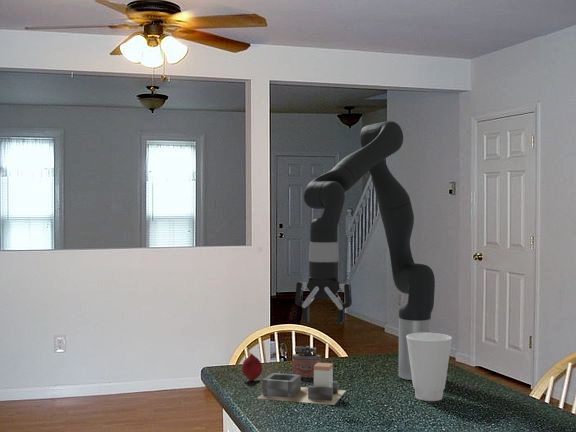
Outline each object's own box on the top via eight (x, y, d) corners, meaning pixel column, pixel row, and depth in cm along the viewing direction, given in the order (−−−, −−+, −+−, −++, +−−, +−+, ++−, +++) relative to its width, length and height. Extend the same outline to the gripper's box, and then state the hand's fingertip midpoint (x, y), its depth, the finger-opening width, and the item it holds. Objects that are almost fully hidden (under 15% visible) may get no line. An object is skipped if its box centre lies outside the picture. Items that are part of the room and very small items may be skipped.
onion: (265, 379, 204) (265, 351, 204) (257, 384, 198) (257, 355, 198) (246, 377, 206) (246, 350, 206) (238, 382, 200) (238, 354, 200)
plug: (332, 394, 182) (332, 363, 182) (329, 398, 178) (329, 367, 178) (317, 393, 183) (317, 362, 183) (313, 397, 179) (313, 365, 179)
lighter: (320, 380, 203) (320, 345, 203) (320, 383, 200) (320, 348, 199) (292, 379, 204) (292, 345, 204) (291, 382, 200) (291, 347, 200)
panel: (346, 396, 186) (346, 375, 186) (334, 410, 173) (334, 388, 173) (273, 390, 192) (273, 370, 192) (256, 404, 178) (256, 382, 178)
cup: (401, 401, 182) (402, 339, 181) (410, 389, 193) (410, 331, 192) (448, 405, 177) (449, 342, 177) (454, 393, 189) (455, 334, 188)
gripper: (354, 259, 182) (353, 322, 182) (300, 257, 186) (300, 319, 186) (348, 261, 175) (347, 327, 175) (292, 260, 179) (292, 324, 179)
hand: (323, 323), depth 180 cm, fingers open, 8 cm apart
